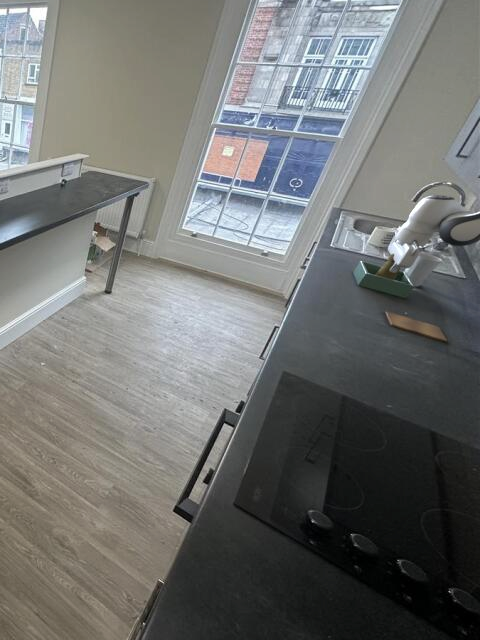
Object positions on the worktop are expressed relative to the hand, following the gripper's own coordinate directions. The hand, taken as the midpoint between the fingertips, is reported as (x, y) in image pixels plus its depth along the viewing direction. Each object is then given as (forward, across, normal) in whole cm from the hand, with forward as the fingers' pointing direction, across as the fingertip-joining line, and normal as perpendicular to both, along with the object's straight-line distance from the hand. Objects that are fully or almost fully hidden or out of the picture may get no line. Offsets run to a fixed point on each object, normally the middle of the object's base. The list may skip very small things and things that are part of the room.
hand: (390, 269), depth 159 cm
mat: (+7, -33, -4) cm, 34 cm away
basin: (+7, 0, 0) cm, 7 cm away
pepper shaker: (+5, 0, 0) cm, 5 cm away
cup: (+8, +13, -12) cm, 19 cm away
